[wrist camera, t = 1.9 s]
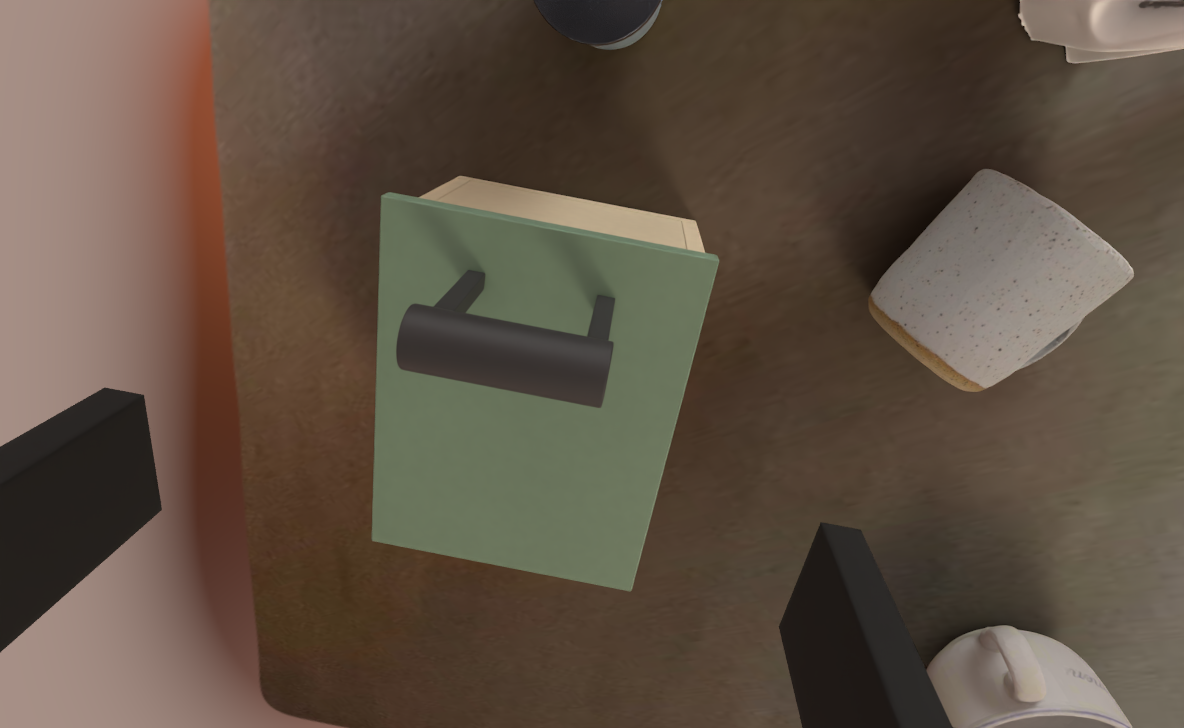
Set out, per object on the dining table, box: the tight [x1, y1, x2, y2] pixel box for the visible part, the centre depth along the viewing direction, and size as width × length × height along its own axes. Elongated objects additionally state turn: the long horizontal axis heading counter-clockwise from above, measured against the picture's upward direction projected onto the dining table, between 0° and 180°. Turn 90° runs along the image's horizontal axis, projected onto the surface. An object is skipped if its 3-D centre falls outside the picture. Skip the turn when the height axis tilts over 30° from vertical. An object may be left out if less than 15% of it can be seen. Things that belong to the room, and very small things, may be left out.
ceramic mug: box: [868, 169, 1134, 392], centre depth 29 cm, size 11×8×8 cm
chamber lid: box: [372, 192, 719, 591], centre depth 24 cm, size 16×13×8 cm
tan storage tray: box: [419, 176, 705, 253], centre depth 32 cm, size 16×13×10 cm
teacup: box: [926, 625, 1133, 728], centre depth 39 cm, size 14×11×8 cm
